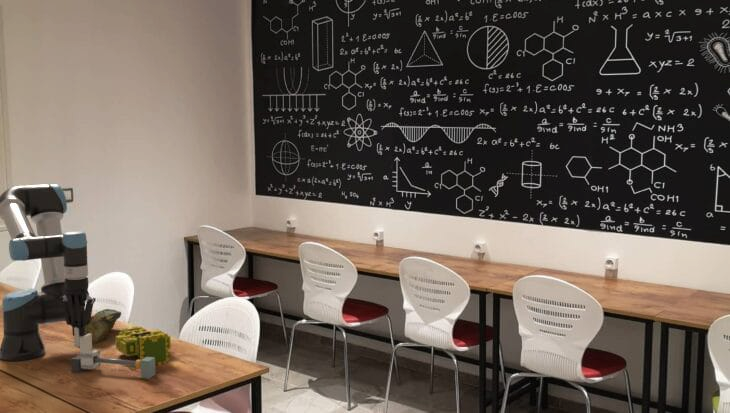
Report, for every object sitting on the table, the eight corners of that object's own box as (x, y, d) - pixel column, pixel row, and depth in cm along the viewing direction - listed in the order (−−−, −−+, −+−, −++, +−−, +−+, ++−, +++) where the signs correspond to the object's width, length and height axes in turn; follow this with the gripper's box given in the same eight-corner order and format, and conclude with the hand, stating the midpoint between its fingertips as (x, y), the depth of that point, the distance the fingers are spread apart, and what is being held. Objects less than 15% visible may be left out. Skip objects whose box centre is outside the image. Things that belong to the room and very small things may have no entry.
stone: (115, 344, 284) (126, 317, 308) (104, 317, 281) (117, 292, 305) (77, 354, 284) (92, 327, 308) (66, 327, 280) (82, 302, 304)
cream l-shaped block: (80, 368, 252) (79, 337, 250) (90, 363, 257) (89, 333, 256) (91, 369, 251) (90, 338, 250) (100, 364, 256) (99, 334, 254)
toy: (151, 319, 289) (177, 332, 264) (152, 345, 290) (179, 361, 265) (107, 325, 280) (130, 340, 255) (108, 352, 280) (131, 369, 255)
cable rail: (71, 371, 252) (70, 354, 252) (82, 366, 258) (81, 349, 257) (147, 379, 245) (147, 362, 245) (157, 373, 251) (156, 356, 250)
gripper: (52, 278, 249) (55, 346, 252) (86, 280, 246) (89, 349, 248) (66, 274, 256) (69, 340, 259) (99, 276, 253) (102, 343, 256)
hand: (79, 345), depth 254 cm, fingers closed
